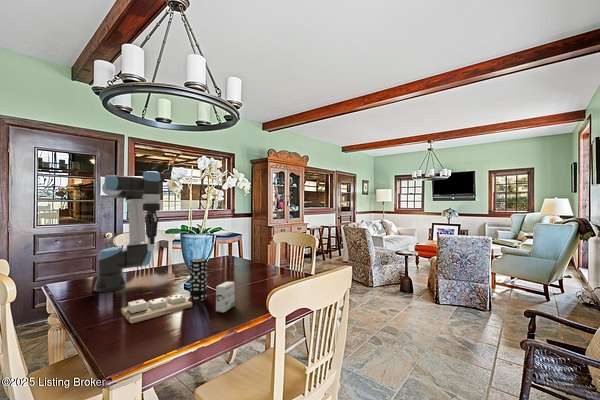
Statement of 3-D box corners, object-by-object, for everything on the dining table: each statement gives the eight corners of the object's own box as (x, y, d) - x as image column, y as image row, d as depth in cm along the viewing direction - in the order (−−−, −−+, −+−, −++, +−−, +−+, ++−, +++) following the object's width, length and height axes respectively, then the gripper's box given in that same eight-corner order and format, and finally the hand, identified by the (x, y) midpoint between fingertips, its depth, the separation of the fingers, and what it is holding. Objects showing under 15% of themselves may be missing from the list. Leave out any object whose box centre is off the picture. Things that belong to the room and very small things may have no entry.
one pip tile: (127, 309, 123) (127, 302, 123) (142, 305, 127) (142, 298, 127) (131, 313, 119) (131, 305, 119) (146, 309, 123) (146, 302, 123)
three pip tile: (167, 302, 135) (167, 296, 135) (180, 299, 140) (180, 293, 140) (172, 306, 131) (172, 299, 131) (184, 303, 135) (184, 296, 135)
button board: (121, 312, 126) (121, 308, 126) (179, 298, 144) (179, 294, 144) (130, 323, 114) (130, 318, 114) (192, 306, 133) (192, 302, 133)
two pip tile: (148, 307, 129) (148, 300, 129) (162, 303, 133) (162, 297, 134) (152, 310, 125) (152, 303, 125) (166, 307, 129) (166, 300, 129)
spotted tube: (187, 298, 144) (187, 260, 144) (202, 294, 150) (202, 257, 150) (194, 302, 138) (194, 262, 139) (209, 298, 145) (210, 260, 145)
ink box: (226, 304, 136) (226, 280, 136) (235, 306, 134) (235, 281, 134) (215, 311, 128) (215, 285, 128) (224, 312, 126) (224, 287, 126)
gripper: (139, 202, 138) (138, 249, 138) (147, 203, 129) (146, 253, 129) (155, 202, 144) (154, 248, 144) (164, 203, 134) (163, 251, 134)
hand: (151, 250), depth 136 cm, fingers closed
